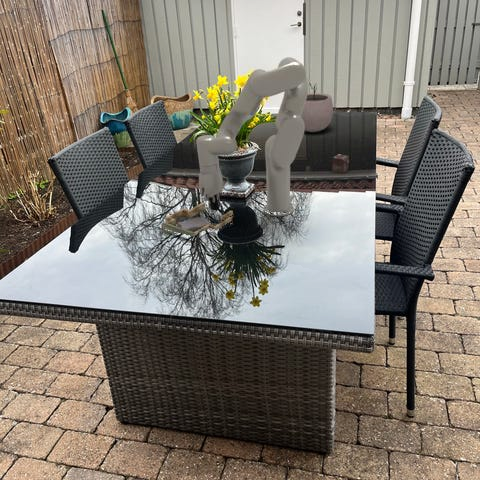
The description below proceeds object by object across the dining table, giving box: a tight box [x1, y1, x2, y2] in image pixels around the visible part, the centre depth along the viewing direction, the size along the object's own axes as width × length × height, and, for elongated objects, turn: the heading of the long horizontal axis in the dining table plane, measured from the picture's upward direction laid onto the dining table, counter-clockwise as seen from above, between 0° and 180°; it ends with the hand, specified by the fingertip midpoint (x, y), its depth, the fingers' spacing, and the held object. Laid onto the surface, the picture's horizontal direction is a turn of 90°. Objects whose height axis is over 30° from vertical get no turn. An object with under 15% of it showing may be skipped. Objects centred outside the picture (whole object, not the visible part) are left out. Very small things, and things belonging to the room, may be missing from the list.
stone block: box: [176, 216, 211, 231], centre depth 187 cm, size 12×5×10 cm
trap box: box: [162, 202, 234, 236], centre depth 190 cm, size 24×23×4 cm
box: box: [331, 153, 350, 174], centre depth 234 cm, size 6×6×7 cm
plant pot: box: [301, 82, 334, 133], centre depth 291 cm, size 24×24×30 cm
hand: (215, 209), depth 196 cm, fingers closed
